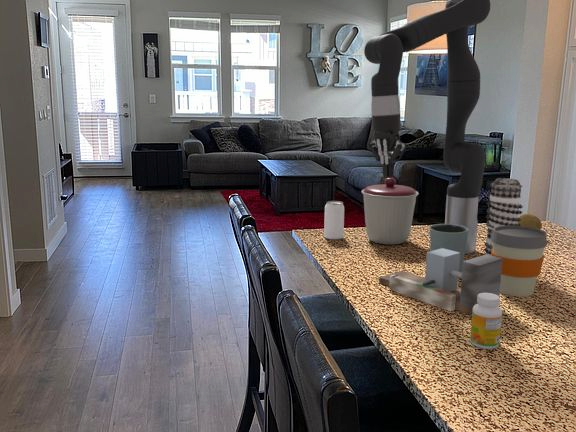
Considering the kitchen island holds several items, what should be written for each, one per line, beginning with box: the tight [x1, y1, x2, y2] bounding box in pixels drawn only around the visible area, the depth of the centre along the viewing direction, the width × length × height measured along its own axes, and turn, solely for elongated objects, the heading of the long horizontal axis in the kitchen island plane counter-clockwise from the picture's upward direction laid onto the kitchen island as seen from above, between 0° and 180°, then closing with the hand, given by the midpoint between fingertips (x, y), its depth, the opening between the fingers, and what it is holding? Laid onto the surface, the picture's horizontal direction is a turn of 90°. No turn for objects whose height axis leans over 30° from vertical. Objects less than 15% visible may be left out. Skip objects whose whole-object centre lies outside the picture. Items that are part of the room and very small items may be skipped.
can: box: [323, 200, 345, 241], centre depth 187 cm, size 6×6×12 cm
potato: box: [518, 213, 543, 230], centre depth 190 cm, size 7×8×8 cm
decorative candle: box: [483, 177, 524, 255], centre depth 153 cm, size 9×9×25 cm
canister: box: [361, 177, 420, 246], centre depth 182 cm, size 18×18×21 cm
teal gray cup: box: [429, 223, 469, 273], centre depth 153 cm, size 10×10×12 cm
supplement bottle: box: [469, 293, 503, 350], centre depth 108 cm, size 5×5×10 cm
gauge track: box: [378, 254, 503, 316], centre depth 134 cm, size 28×11×12 cm, turn 38°
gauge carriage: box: [423, 248, 462, 292], centre depth 131 cm, size 8×10×9 cm
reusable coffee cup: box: [491, 226, 548, 297], centre depth 137 cm, size 13×13×15 cm
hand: (388, 177), depth 153 cm, fingers closed
